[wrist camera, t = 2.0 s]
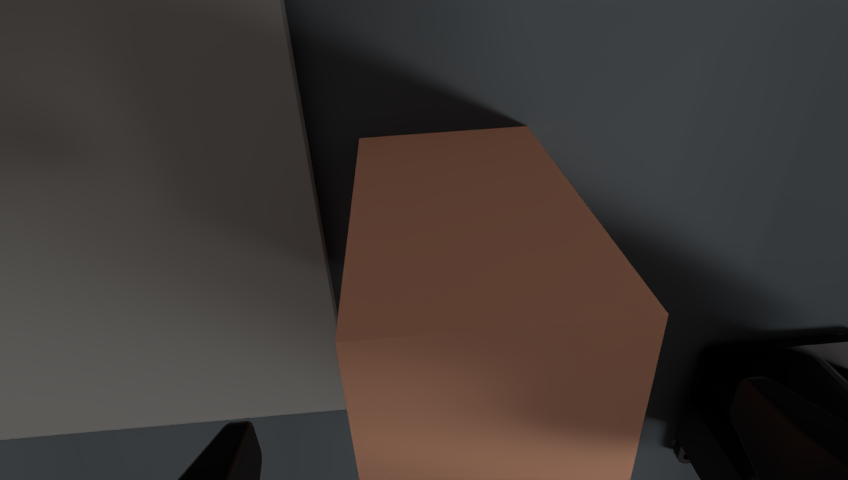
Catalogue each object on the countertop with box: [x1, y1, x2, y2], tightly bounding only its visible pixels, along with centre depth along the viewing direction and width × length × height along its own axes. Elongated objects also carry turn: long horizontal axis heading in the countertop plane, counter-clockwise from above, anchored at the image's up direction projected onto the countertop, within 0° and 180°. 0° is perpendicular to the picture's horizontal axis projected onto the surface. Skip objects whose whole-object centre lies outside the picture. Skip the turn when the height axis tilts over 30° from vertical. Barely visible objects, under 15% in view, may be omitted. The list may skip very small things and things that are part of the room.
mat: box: [0, 0, 347, 440], centre depth 16 cm, size 18×16×1 cm
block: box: [335, 126, 669, 480], centre depth 13 cm, size 5×5×9 cm
